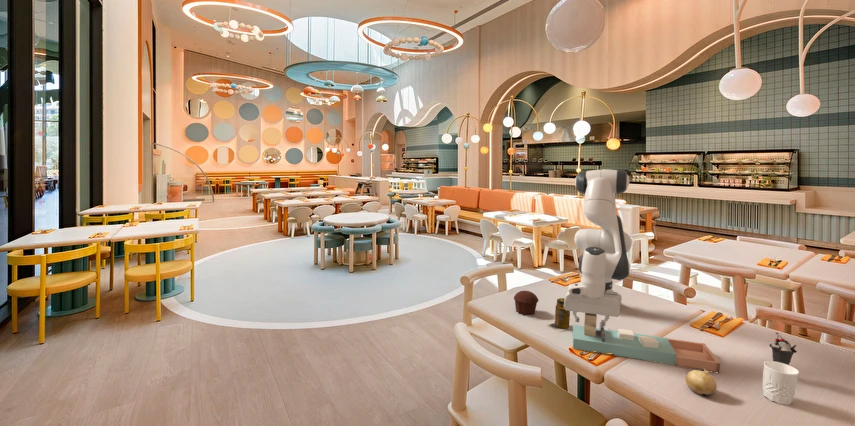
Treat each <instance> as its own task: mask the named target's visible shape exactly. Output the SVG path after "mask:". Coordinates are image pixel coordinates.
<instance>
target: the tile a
mask: <svg viewBox="0 0 855 426" xmlns="http://www.w3.org/2000/svg"><path fill="white" fill-rule="evenodd" d="M617 331H618V336H619V339H625V340H632V341H634V334H633V333H634V331H633V330H632V329H631V330H629V329H623V328H617Z"/></svg>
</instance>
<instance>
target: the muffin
mask: <svg viewBox="0 0 855 426" xmlns="http://www.w3.org/2000/svg"><path fill="white" fill-rule="evenodd" d="M513 300H514V305H515V312H516V313H517V312H518V313H517V314H518V315H521V314H522V315H521V316H529V315H531V316H534V315H535V314H536V309H537V304H538V303H539V298H538V296H537V295H536V294H535V293H534V292H532V291H529V290H521V291H518V292H516V293H515V294H514V296H513ZM533 314H534V315H533Z"/></svg>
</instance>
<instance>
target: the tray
mask: <svg viewBox="0 0 855 426" xmlns="http://www.w3.org/2000/svg"><path fill="white" fill-rule="evenodd" d="M666 338H667V339H668V340H669V342H670V344H671V346H672V347H673V349H674V351H675V353H676V365H675V366H676V367H677V366H679V367H678V368H683V367H685V368H684V369H689V368H691V369H690V370H696V369H700V370H699V371H702V370H704V368H705V370H706V371H712V372H711V373H714V372H718V373H717V374H720V371H721V363H720V360H719V359H718V358H717V357H716V356H715V354H714V353H713V352H712V351H711V349H710V348H709V347H708V345H707V344H706V343H705V342H703V343H702V342H695V341H690V340H681V339H675V338H668V337H666Z"/></svg>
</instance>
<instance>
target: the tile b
mask: <svg viewBox="0 0 855 426" xmlns="http://www.w3.org/2000/svg"><path fill="white" fill-rule="evenodd" d="M638 341H639V342H640V343H641V345H642V346H643V347H651V348H658V344H659V343H658V342H657V341H656V340H655V338H654V337H647V336H639V340H638Z"/></svg>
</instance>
